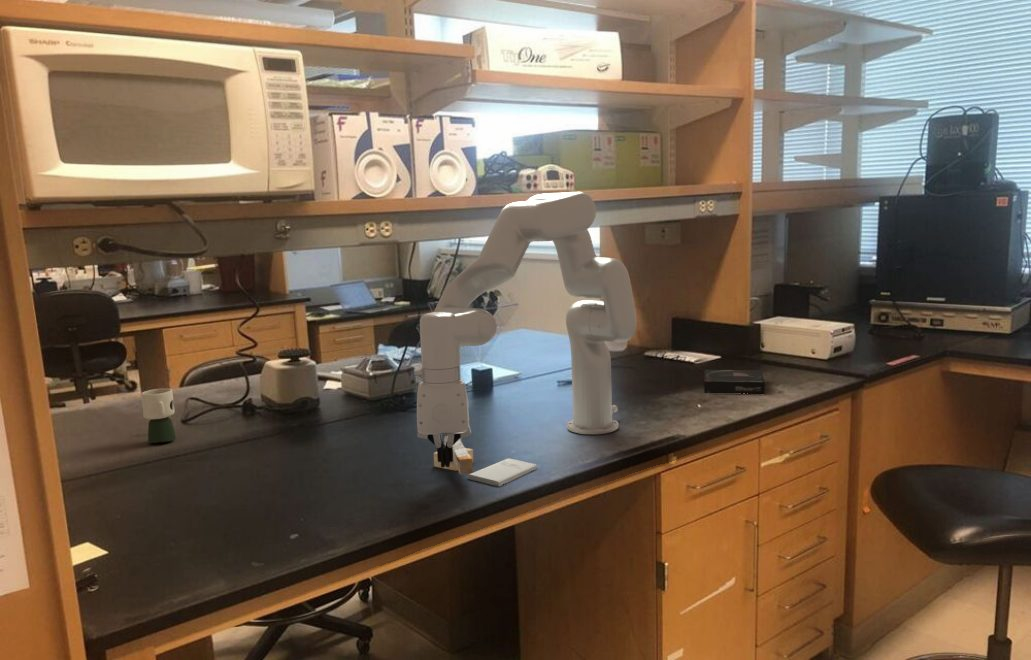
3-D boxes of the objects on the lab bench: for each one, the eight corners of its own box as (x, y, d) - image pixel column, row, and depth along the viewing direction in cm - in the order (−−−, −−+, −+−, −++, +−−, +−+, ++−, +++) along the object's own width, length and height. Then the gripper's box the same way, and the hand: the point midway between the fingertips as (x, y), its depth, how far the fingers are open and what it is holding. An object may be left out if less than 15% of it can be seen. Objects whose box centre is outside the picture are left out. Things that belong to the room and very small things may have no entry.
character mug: (181, 444, 189) (176, 392, 187) (150, 449, 185) (144, 397, 183) (173, 434, 198) (168, 385, 196) (143, 440, 194) (137, 390, 192)
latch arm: (443, 448, 166) (442, 433, 165) (460, 446, 166) (459, 431, 166) (457, 474, 148) (456, 457, 148) (475, 472, 149) (474, 455, 149)
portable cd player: (760, 382, 231) (760, 369, 230) (764, 396, 214) (764, 382, 214) (704, 382, 235) (704, 369, 234) (704, 395, 218) (704, 381, 218)
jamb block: (452, 458, 169) (451, 445, 168) (473, 462, 165) (472, 449, 165) (434, 466, 164) (433, 452, 164) (456, 470, 161) (455, 457, 160)
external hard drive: (468, 481, 156) (507, 464, 165) (499, 489, 150) (537, 471, 160) (467, 474, 155) (506, 457, 165) (498, 481, 150) (537, 463, 160)
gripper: (400, 380, 146) (405, 472, 149) (478, 377, 146) (482, 470, 149) (406, 372, 154) (410, 460, 157) (480, 370, 154) (483, 458, 156)
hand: (445, 465), depth 153 cm, fingers closed
